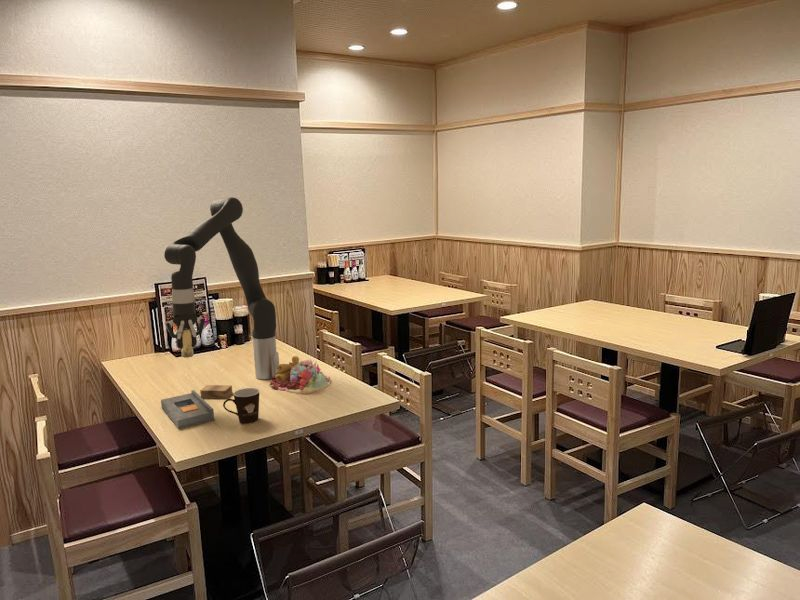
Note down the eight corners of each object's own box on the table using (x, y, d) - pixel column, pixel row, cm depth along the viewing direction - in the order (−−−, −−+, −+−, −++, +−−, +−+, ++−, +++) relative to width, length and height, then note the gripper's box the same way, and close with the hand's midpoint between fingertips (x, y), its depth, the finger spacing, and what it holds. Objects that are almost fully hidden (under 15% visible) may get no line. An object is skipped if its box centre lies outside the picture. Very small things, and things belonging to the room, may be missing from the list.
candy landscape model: (258, 388, 239) (256, 365, 237) (295, 370, 259) (293, 350, 257) (310, 397, 227) (308, 373, 225) (344, 378, 248) (342, 356, 246)
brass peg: (195, 354, 219) (193, 327, 217) (190, 357, 215) (188, 330, 213) (185, 354, 219) (183, 327, 218) (179, 357, 216) (177, 330, 214)
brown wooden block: (232, 392, 233) (231, 385, 233) (226, 398, 228) (225, 390, 227) (207, 392, 235) (207, 385, 234) (201, 397, 229) (200, 390, 228)
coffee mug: (263, 414, 211) (261, 387, 209) (259, 424, 202) (256, 396, 200) (230, 416, 210) (227, 388, 208) (224, 426, 202) (221, 397, 200)
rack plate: (214, 420, 207) (213, 409, 206) (178, 428, 201) (177, 417, 200) (194, 400, 227) (193, 390, 226) (161, 407, 220) (160, 397, 219)
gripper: (201, 297, 220) (204, 342, 223) (160, 301, 213) (163, 348, 216) (206, 300, 214) (209, 347, 217) (164, 304, 207) (168, 353, 210)
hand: (186, 347), depth 217 cm, fingers closed on brass peg, 4 cm apart
